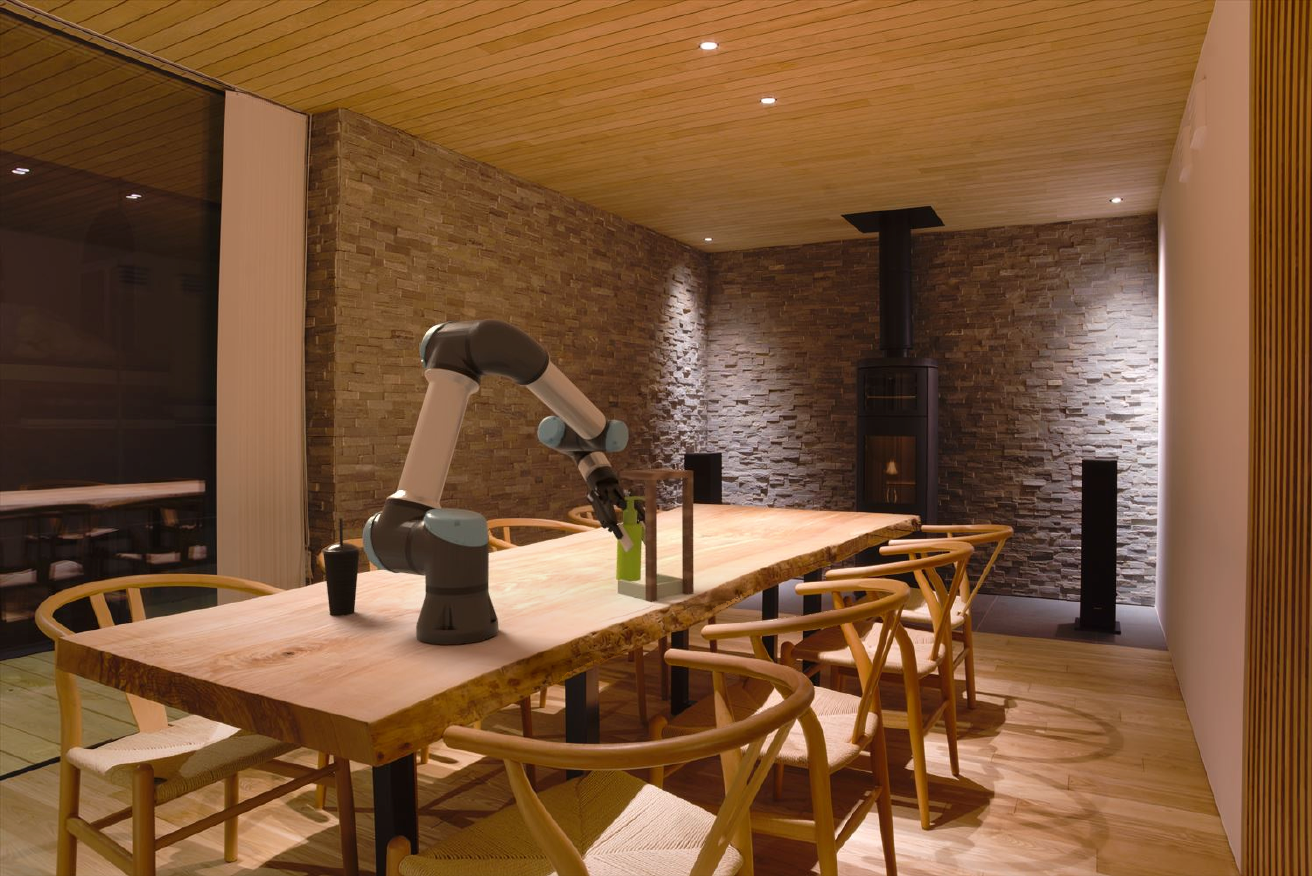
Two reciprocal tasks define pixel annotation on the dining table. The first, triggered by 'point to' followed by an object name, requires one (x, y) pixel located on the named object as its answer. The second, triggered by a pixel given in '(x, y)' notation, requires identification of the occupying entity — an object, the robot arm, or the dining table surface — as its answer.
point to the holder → (664, 587)
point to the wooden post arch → (651, 525)
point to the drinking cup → (341, 575)
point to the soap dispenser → (632, 560)
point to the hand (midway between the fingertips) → (640, 546)
